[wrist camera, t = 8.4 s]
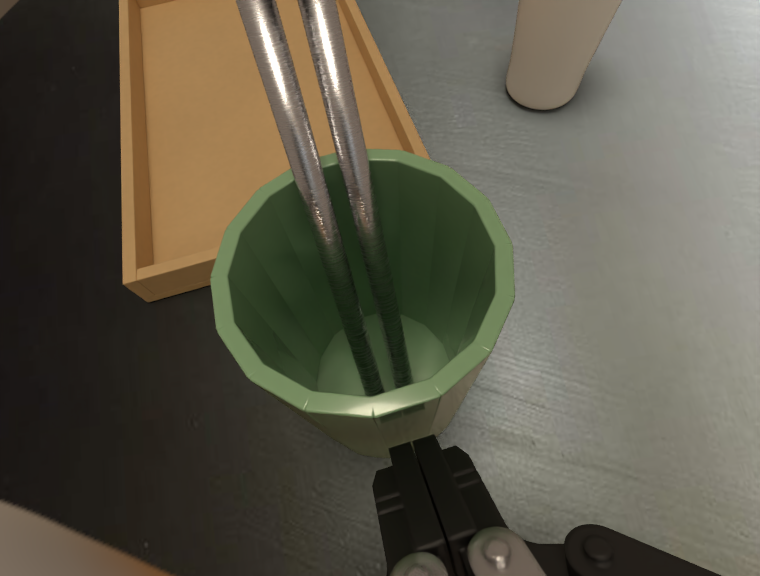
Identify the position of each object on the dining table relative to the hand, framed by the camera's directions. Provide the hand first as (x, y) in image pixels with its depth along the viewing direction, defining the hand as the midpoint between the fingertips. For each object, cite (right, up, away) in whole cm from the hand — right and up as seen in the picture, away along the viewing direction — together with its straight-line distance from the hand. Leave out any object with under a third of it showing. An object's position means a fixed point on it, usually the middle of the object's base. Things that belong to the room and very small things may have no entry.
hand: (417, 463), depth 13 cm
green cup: (-1, 0, +10) cm, 10 cm away
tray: (-11, +21, +21) cm, 32 cm away
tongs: (-2, +6, +2) cm, 7 cm away
